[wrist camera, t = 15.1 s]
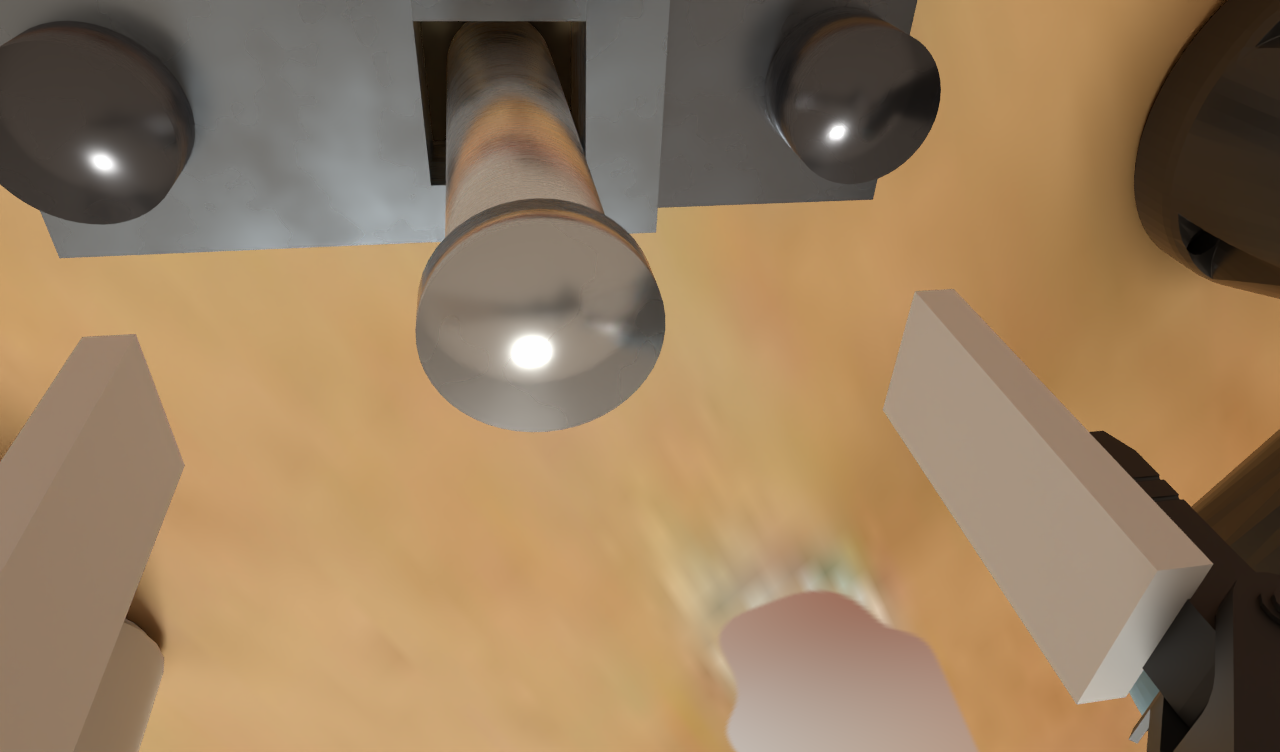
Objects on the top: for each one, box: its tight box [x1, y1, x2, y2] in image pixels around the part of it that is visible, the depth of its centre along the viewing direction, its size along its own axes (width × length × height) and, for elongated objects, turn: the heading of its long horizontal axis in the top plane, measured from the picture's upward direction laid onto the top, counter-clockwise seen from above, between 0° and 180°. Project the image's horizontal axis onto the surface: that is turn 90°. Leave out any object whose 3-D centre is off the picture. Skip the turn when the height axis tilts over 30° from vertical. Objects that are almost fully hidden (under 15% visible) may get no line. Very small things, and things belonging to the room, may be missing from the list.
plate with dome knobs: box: [0, 0, 941, 258], centre depth 27 cm, size 28×9×6 cm, turn 87°
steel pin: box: [416, 21, 665, 432], centre depth 22 cm, size 5×5×17 cm
